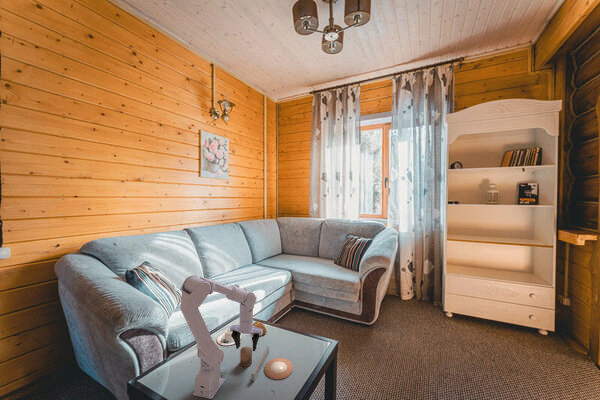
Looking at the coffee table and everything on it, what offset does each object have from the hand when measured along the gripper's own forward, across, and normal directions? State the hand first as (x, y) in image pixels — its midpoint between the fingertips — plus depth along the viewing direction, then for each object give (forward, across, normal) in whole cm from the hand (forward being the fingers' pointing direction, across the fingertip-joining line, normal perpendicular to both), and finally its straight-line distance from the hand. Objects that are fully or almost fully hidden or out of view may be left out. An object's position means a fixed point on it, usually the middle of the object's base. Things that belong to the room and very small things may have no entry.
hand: (246, 348), depth 108 cm
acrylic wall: (+6, -7, 0) cm, 9 cm away
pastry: (+7, +4, -25) cm, 27 cm away
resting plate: (+6, -15, 0) cm, 16 cm away
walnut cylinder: (+6, 0, 0) cm, 7 cm away
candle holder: (+7, +16, -15) cm, 23 cm away
